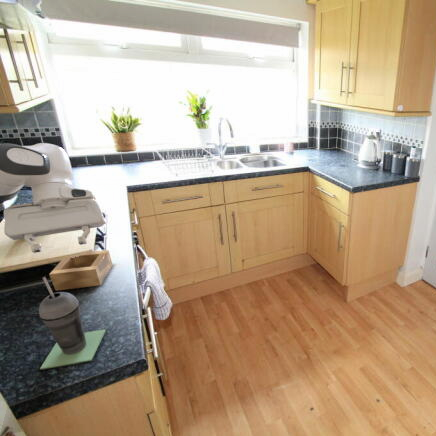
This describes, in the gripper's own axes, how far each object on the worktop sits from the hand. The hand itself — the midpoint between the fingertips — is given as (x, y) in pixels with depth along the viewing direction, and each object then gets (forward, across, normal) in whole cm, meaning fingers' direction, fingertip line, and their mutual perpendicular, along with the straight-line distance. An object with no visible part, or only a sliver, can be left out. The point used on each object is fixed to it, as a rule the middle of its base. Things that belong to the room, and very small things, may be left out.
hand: (60, 247), depth 82 cm
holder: (+2, 0, +26) cm, 26 cm away
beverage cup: (+26, 0, +2) cm, 26 cm away
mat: (+26, 0, +2) cm, 26 cm away
